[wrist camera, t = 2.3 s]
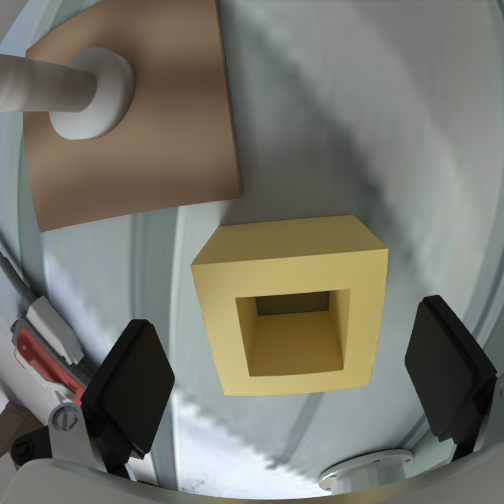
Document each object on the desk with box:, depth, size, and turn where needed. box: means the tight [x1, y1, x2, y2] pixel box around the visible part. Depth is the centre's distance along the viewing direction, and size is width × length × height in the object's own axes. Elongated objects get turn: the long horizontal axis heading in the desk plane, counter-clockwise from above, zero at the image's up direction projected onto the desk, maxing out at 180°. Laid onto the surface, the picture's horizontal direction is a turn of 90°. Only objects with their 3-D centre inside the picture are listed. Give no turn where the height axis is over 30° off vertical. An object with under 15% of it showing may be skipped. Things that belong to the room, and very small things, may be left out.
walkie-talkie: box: [0, 252, 98, 407], centre depth 18 cm, size 9×4×20 cm
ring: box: [190, 215, 388, 396], centre depth 13 cm, size 7×7×5 cm
